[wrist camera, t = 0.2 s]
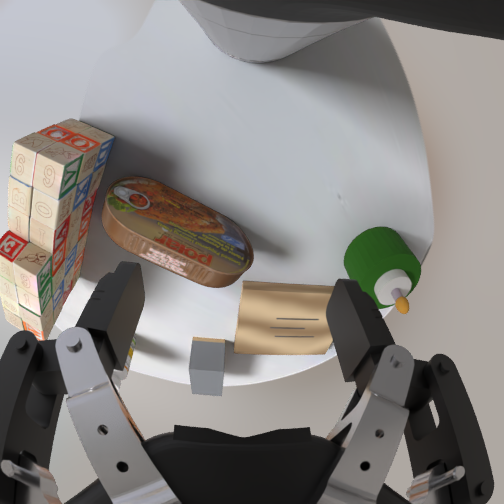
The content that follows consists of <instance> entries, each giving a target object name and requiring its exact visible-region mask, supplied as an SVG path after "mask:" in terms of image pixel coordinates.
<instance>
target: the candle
mask: <svg viewBox="0 0 504 504" xmlns="http://www.w3.org/2000/svg"><path fill="white" fill-rule="evenodd" d="M344 266H345V269H346V271H347V273H348V276H349V278H350V279H355V280H357V282H358V283H359V285H360V287H361V289H362V291H363V292H366V293H368V294H369V295H370V296H371V297H372V298H373V299H374V301H375V303H376V305H377V307H378V309H383V308H387V307H390V306H393V305H395V304H396V308H397V310H398V311H399V312H400V313H402V314H406V313H407V312H408V311H409V303H408V300H407V299H406V297H407V296H408V295H409V294H410V293H411V292H412V291H413V289H414V288H415V287H416V285H417V283H418V281H419V278H420V275H421V265H420V263H419V261H418V260H417V258H416V257H415V256H414V254H413V253H412V252H411V250H410V249H409V248H408V246H407V245H406V244H405V242H404V241H403V240H402V239H401V237H400V236H399V235H398V234H397V233H396V231H394V230H393V229H391V228H388V227H374V228H371V229H368V230H366V231H364V232H362V233H361V234H360V235H358V236H357V237H356V238H355V239H354V240H353V241H352V242H351V244H350V245H349V246H348V248H347V250H346V253H345V256H344Z"/></svg>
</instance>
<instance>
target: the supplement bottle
mask: <svg viewBox="0 0 504 504" xmlns="http://www.w3.org/2000/svg"><path fill="white" fill-rule="evenodd" d="M135 344H136V340H135V338H134V337H133V340H132V343H131V346H130V350H129V353H128V356H127V360H126V363H125V367H124V370H123V371H119V370H115V369H114V371H113V375H112V380H113V382H114V384H115V386H116V388H117V390H119V389H120V385H121V381H120V380H124V379H125V378H126V377H127V374H128V371H129V367H130V363H131V359H132V355H133V351H134V348H135Z"/></svg>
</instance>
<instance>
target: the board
mask: <svg viewBox="0 0 504 504" xmlns="http://www.w3.org/2000/svg"><path fill="white" fill-rule="evenodd" d="M333 289H334V286H319V285H300V284H283V283H267V282H252V281H243V284H242V291H241V298H240V305H239V313H238V320H237V327H236V334H235V342H234V353H236V354H261V355H318V354H325V353H326V352H327V350H328V348H329V346H330V345H331V343H332V341H333V339H332V336H331V332H330V329H329V326H328V323H327V319H326V308H327V304H328V302H329V299H330V297H331V294H332V292H333Z"/></svg>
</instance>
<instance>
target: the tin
mask: <svg viewBox="0 0 504 504" xmlns="http://www.w3.org/2000/svg"><path fill="white" fill-rule="evenodd" d="M102 224H103V227H104V229H105V231H106V233H107V234H108V236H109V237H110V238H111V239H112V240H113V241H114V242H115V243H116V244H117V245H119V246H120V247H121V248H123V249H125V250H127V251H129V252H131V253H133V254H135V255H137V256H139V257H141V258H143V259H145V260H147V261H149V262H152V263H154V264H156V265H158V266H160V267H162V268H165V269H167V270H169V271H171V272H173V273H175V274H178V275H180V276H182V277H184V278H187V279H189V280H191V281H193V282H196V283H198V284H201V285H203V286H207V287H212V288H222V287H226V286H229V285H231V284H233V283H234V282H235V281H237V280H238V279H239V278H240V276H241V275H242V274H243V273H244V272H245V271H247V270H248V269H249V268H250V267H251V265H252V263H253V259H254V254H253V249H252V246H251V244H250V242H249V240H248V238H247V237H246V235H245V234H244V233H243V231H242V230H241V229H240V228H239V227H238V226H237V225H236V224H235V223H234V222H232V221H231V220H230V219H228V218H227V217H225V216H224V215H222V214H220V213H218V212H216V211H214V210H212V209H210V208H208V207H207V206H205V205H203V204H201V203H199V202H197V201H195V200H193V199H191V198H189V197H187V196H185V195H183V194H181V193H179V192H177V191H175V190H173V189H171V188H170V187H168V186H166V185H164V184H162V183H159V182H157V181H155V180H152V179H148V178H143V177H125V178H121V179H119V180H116V181H115V182H113V183H112V184H111V185H110V186H109V187H108V189H107V191H106V197H105V202H104V205H103V209H102Z"/></svg>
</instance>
